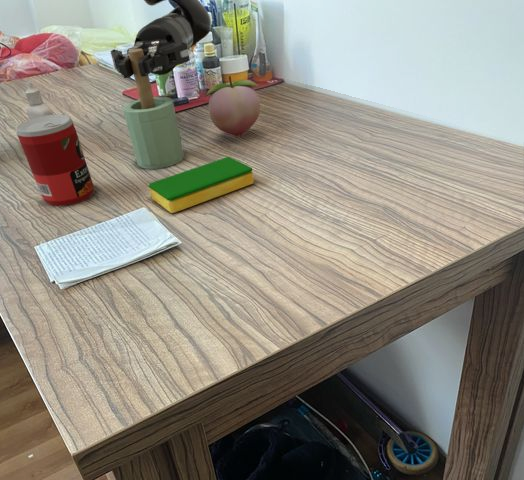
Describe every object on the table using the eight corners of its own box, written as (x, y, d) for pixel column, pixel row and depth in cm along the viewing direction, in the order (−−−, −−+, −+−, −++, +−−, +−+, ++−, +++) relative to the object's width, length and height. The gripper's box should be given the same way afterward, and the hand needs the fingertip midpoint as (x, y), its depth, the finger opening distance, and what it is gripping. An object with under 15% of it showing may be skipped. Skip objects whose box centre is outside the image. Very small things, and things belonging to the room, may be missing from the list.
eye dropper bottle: (63, 144, 100) (40, 77, 92) (67, 152, 96) (42, 82, 88) (41, 149, 99) (15, 81, 91) (43, 158, 95) (16, 88, 87)
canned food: (91, 203, 77) (65, 127, 70) (38, 210, 77) (7, 135, 70) (99, 182, 83) (76, 111, 76) (50, 189, 83) (22, 118, 76)
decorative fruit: (254, 124, 97) (248, 66, 91) (268, 137, 91) (262, 75, 84) (207, 134, 95) (197, 75, 89) (217, 148, 89) (207, 85, 83)
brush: (157, 161, 86) (131, 53, 75) (147, 157, 88) (120, 52, 77) (173, 154, 87) (149, 48, 77) (162, 151, 89) (138, 47, 79)
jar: (154, 172, 84) (140, 114, 78) (128, 162, 88) (113, 107, 83) (192, 156, 87) (182, 100, 82) (166, 148, 92) (154, 94, 86)
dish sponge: (151, 199, 76) (147, 183, 74) (230, 171, 81) (228, 155, 79) (172, 214, 71) (168, 197, 69) (255, 183, 76) (253, 167, 74)
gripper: (119, 24, 88) (81, 45, 75) (197, 15, 86) (172, 36, 73) (131, 72, 93) (97, 100, 80) (205, 65, 90) (182, 93, 78)
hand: (133, 69), depth 76 cm, fingers closed on brush, 2 cm apart
